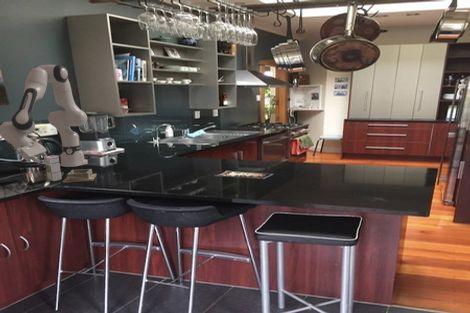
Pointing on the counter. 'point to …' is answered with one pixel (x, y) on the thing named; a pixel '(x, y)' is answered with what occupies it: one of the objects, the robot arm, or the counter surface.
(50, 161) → the syrup box
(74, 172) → the cradle jig
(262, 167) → the counter surface
